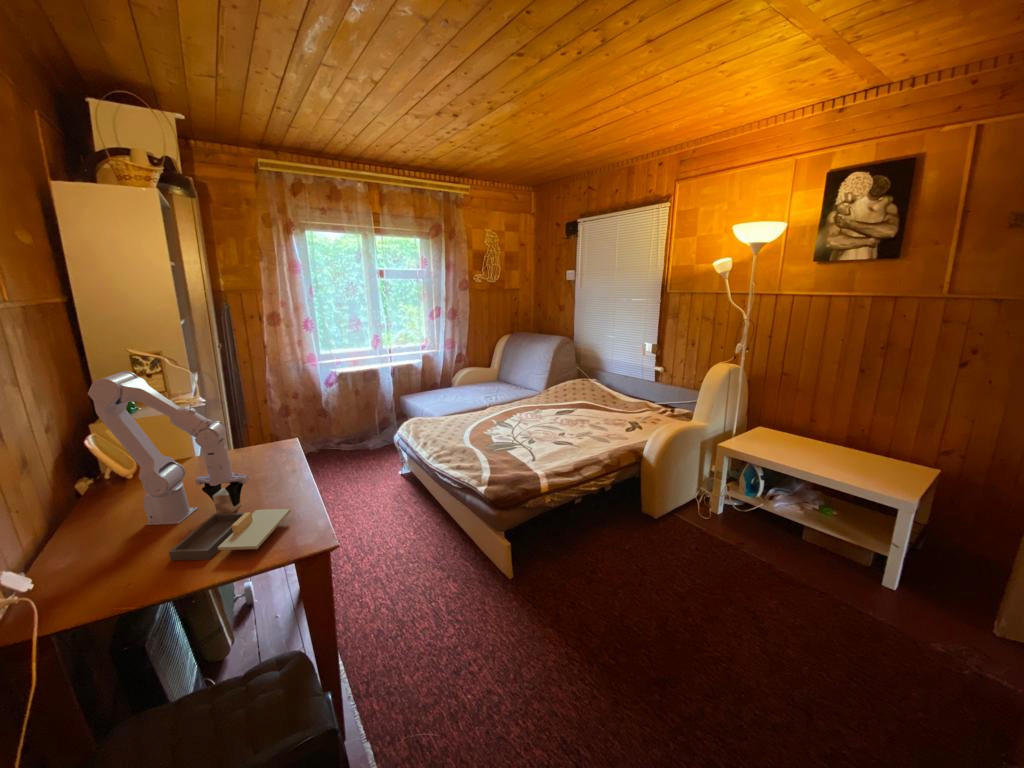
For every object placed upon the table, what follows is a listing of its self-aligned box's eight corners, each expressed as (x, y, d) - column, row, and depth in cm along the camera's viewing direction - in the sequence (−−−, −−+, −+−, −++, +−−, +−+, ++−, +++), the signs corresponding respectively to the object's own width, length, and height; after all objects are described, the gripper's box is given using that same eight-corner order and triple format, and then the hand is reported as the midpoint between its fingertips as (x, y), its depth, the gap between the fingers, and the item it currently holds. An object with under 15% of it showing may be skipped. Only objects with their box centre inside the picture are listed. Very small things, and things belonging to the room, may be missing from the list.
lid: (218, 550, 104) (215, 538, 103) (257, 512, 120) (255, 501, 119) (257, 548, 104) (254, 537, 103) (290, 511, 120) (288, 500, 119)
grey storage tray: (171, 560, 105) (168, 551, 104) (216, 521, 121) (214, 513, 120) (209, 559, 105) (207, 550, 104) (249, 520, 121) (247, 512, 120)
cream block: (216, 513, 124) (212, 495, 123) (226, 505, 129) (222, 487, 127) (232, 513, 124) (227, 495, 123) (241, 505, 129) (237, 487, 127)
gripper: (183, 470, 119) (194, 512, 122) (234, 469, 119) (244, 511, 122) (201, 459, 125) (211, 499, 129) (249, 458, 125) (258, 498, 129)
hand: (228, 504), depth 126 cm, fingers closed on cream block, 4 cm apart
